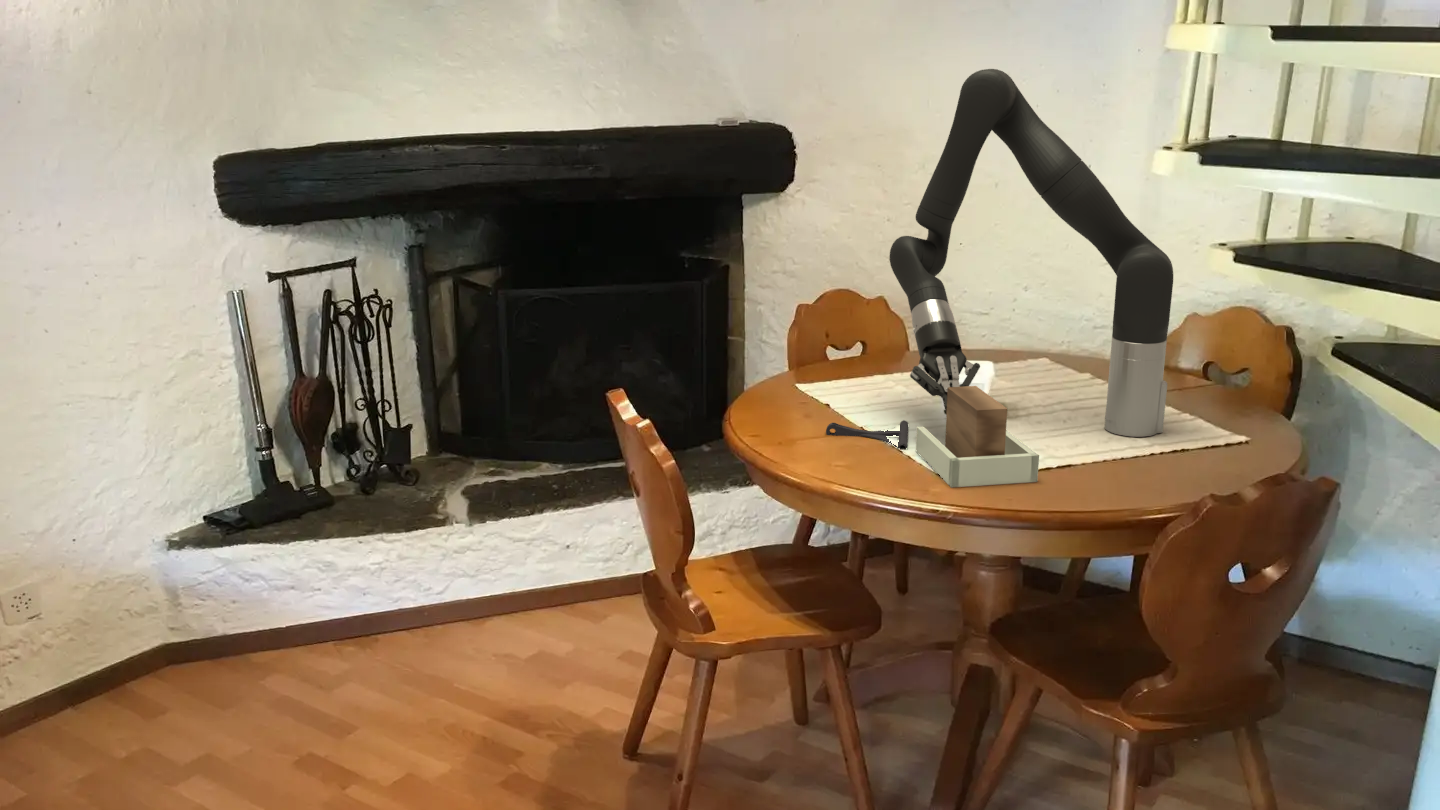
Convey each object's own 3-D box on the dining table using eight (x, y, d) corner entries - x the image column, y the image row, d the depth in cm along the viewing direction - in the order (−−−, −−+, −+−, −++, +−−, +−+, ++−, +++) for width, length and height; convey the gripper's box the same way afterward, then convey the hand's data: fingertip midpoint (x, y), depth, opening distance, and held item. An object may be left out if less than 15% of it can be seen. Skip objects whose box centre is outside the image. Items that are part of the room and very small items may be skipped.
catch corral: (994, 446, 196) (996, 422, 195) (1037, 481, 179) (1039, 455, 177) (915, 451, 194) (916, 426, 193) (951, 487, 177) (952, 460, 176)
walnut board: (972, 452, 193) (975, 385, 190) (1003, 479, 180) (1007, 408, 177) (944, 454, 193) (947, 387, 189) (973, 481, 179) (977, 410, 176)
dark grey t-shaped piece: (829, 425, 212) (829, 411, 211) (908, 428, 209) (909, 414, 208) (822, 450, 198) (822, 435, 197) (907, 453, 195) (907, 438, 195)
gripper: (904, 320, 198) (924, 405, 190) (976, 317, 200) (998, 401, 192) (895, 343, 204) (913, 426, 196) (964, 339, 206) (985, 422, 198)
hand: (955, 413), depth 194 cm, fingers closed
